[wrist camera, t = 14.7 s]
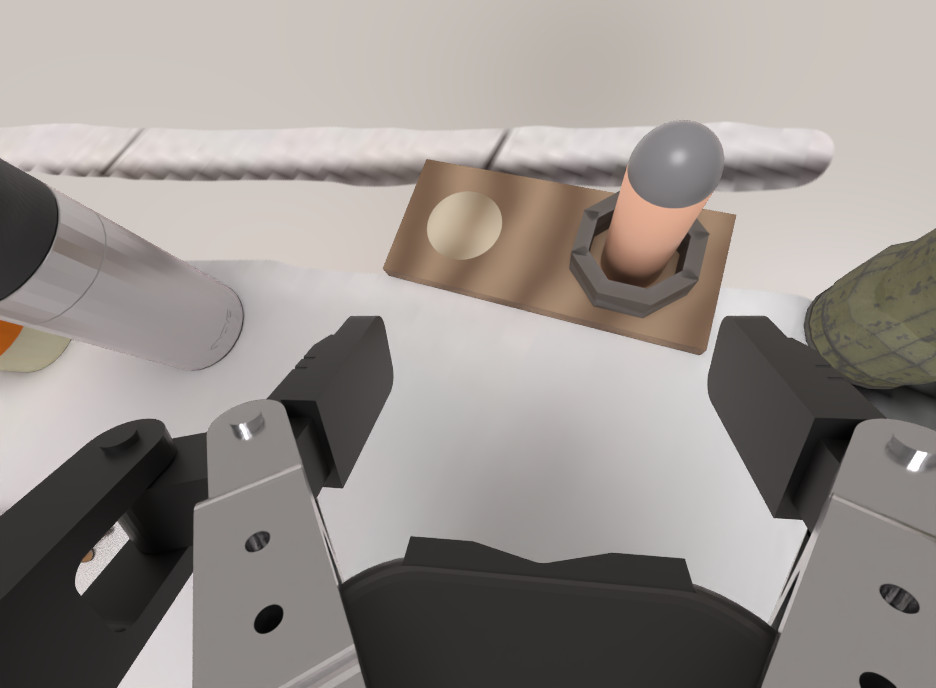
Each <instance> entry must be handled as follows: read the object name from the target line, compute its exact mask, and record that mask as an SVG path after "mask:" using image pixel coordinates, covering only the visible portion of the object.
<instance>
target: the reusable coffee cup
mask: <svg viewBox="0 0 936 688" xmlns="http://www.w3.org/2000/svg"><path fill="white" fill-rule="evenodd" d="M70 340H71V339H70V338H66V337H62V336H59V335H55V334H51V333H47V332H44V331H40V330H36V329H33V328H29V327H25V326H22V325H18V324H14V323H10V322H6V321H2V320H0V370H3V371H17V372H34V371H37V370H40V369H43V368H44V367H46V366H48V365H50V364H51V363H52V362H54V361H55V360H56V359H57V358H58V357H59V356H60V355H61V354H62V353H63V351H64V350H65V349H66V347H67V346H68V344H69V342H70Z"/></svg>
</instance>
